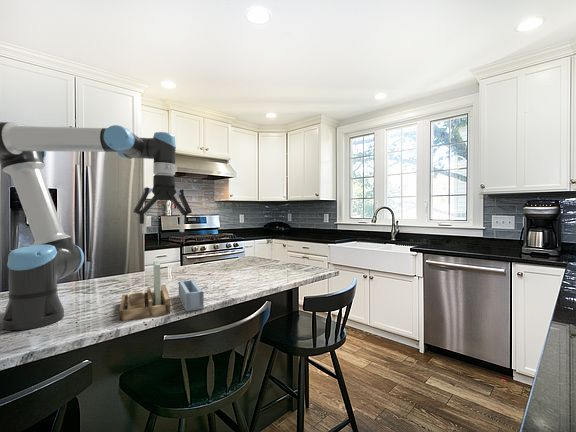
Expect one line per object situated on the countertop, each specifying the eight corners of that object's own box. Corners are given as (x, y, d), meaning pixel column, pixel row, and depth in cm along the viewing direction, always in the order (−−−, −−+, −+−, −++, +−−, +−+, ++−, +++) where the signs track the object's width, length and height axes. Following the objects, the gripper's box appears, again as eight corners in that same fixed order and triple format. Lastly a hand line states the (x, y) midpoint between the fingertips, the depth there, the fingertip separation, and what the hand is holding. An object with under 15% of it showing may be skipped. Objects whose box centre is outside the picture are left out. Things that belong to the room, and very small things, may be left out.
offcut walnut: (131, 305, 99) (130, 298, 99) (129, 301, 103) (129, 294, 103) (144, 303, 101) (144, 296, 101) (142, 299, 105) (142, 292, 105)
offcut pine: (127, 309, 108) (127, 296, 108) (129, 304, 113) (129, 292, 113) (143, 307, 109) (143, 295, 109) (144, 302, 115) (144, 290, 115)
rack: (119, 320, 96) (119, 304, 96) (122, 303, 114) (122, 289, 114) (170, 313, 103) (170, 298, 103) (165, 297, 121) (165, 285, 121)
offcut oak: (127, 318, 99) (127, 306, 98) (128, 312, 104) (128, 301, 104) (145, 316, 101) (144, 304, 101) (144, 310, 106) (144, 299, 106)
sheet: (155, 311, 105) (155, 265, 104) (154, 302, 115) (153, 259, 115) (160, 311, 105) (160, 264, 105) (158, 301, 116) (158, 259, 116)
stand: (185, 311, 105) (185, 293, 105) (178, 296, 123) (178, 281, 123) (203, 308, 108) (203, 291, 108) (194, 294, 126) (194, 279, 125)
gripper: (129, 171, 103) (129, 234, 103) (200, 177, 119) (199, 232, 119) (124, 173, 109) (124, 232, 109) (192, 178, 125) (192, 230, 125)
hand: (163, 232), depth 114 cm, fingers open, 13 cm apart
